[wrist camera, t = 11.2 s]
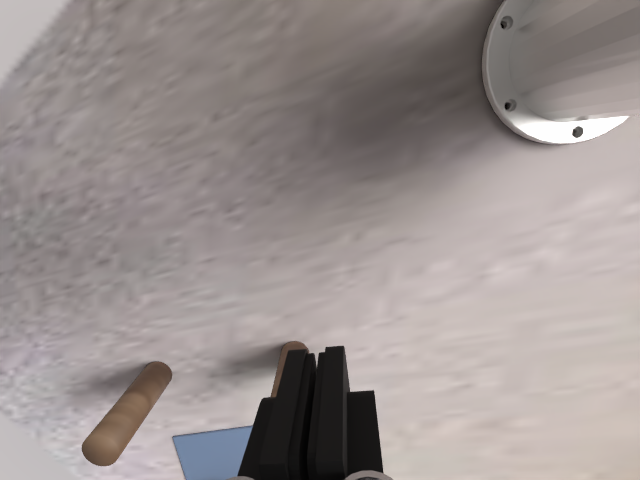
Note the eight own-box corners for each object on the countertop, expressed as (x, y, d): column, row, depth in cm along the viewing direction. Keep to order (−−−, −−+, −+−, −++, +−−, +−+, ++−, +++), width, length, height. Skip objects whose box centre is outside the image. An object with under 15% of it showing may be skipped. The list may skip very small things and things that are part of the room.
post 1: (141, 363, 34) (76, 437, 25) (167, 359, 34) (112, 433, 25) (149, 387, 35) (88, 468, 26) (175, 384, 35) (123, 463, 26)
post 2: (278, 343, 33) (260, 413, 25) (306, 339, 33) (298, 407, 24) (283, 368, 34) (268, 445, 25) (311, 364, 34) (305, 440, 25)
